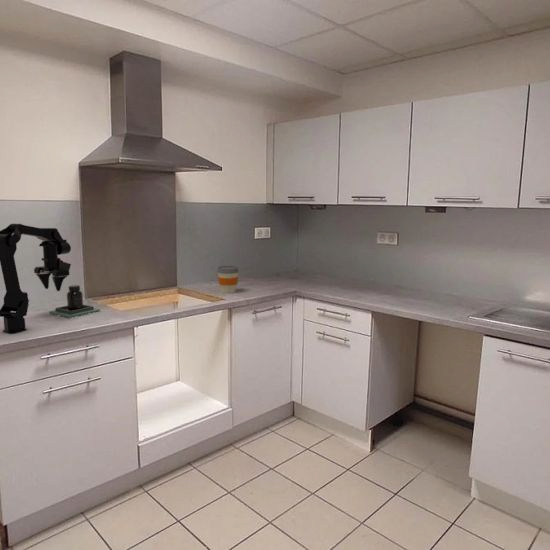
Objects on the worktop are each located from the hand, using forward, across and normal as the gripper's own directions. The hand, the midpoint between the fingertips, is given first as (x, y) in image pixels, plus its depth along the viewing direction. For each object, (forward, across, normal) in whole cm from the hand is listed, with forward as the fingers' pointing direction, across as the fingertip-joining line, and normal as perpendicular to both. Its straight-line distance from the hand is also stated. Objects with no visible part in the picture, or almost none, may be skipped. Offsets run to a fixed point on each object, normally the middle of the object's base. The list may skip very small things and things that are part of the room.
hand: (52, 289), depth 196 cm
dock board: (+12, 0, -10) cm, 16 cm away
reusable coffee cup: (+12, -28, -93) cm, 98 cm away
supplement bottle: (+12, -1, -10) cm, 16 cm away
